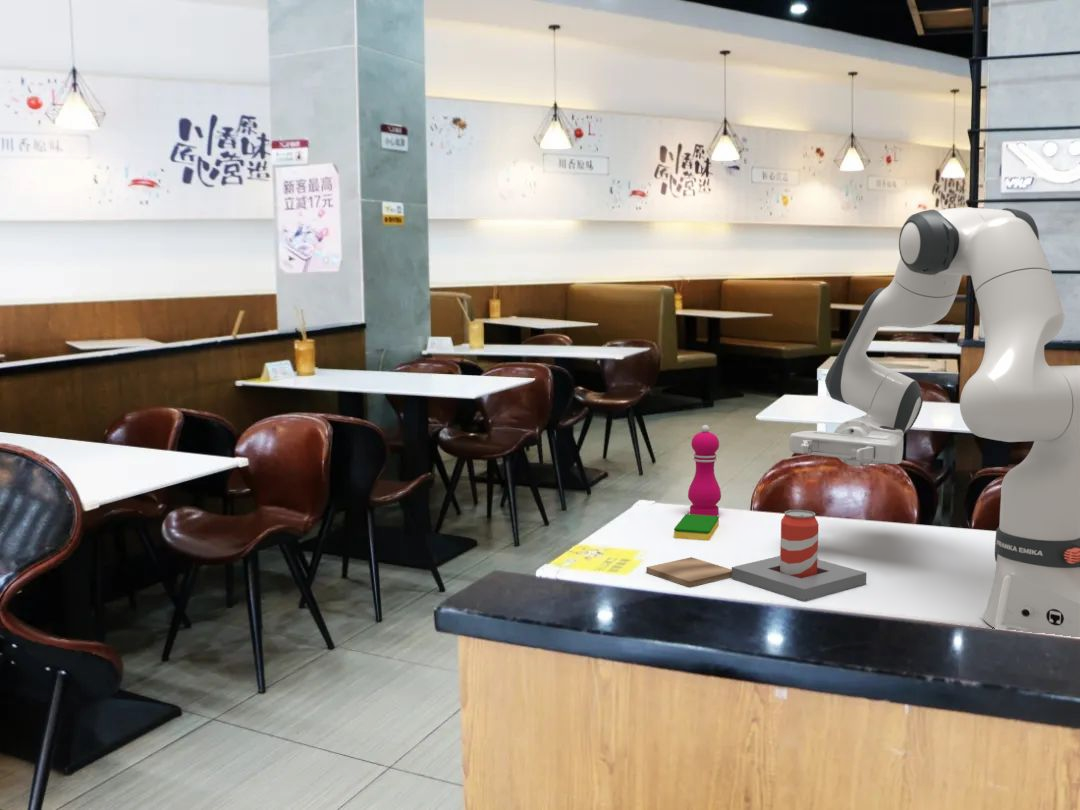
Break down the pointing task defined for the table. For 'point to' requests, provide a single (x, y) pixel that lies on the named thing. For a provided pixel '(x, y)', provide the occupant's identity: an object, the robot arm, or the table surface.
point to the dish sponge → (696, 527)
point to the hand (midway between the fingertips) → (829, 452)
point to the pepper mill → (704, 475)
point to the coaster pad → (690, 572)
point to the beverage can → (799, 543)
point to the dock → (799, 588)
